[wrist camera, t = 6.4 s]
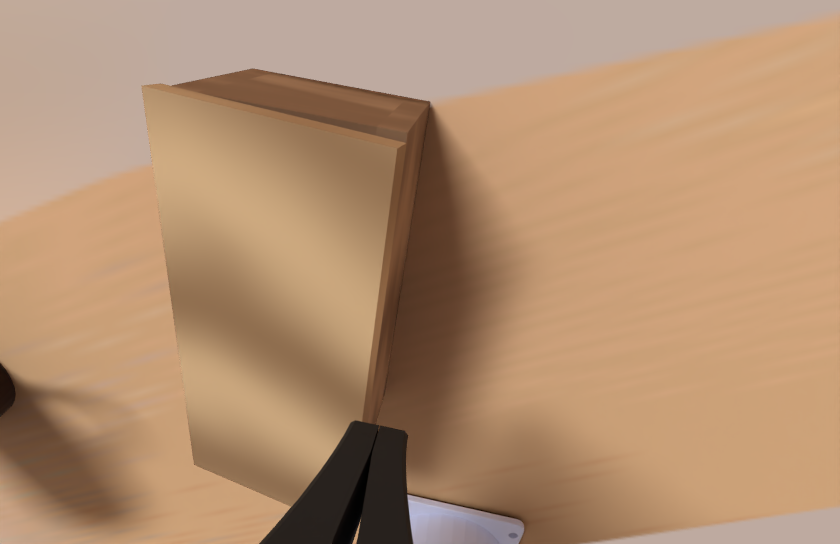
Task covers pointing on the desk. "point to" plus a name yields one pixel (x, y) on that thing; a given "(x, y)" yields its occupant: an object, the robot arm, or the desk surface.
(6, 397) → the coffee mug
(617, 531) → the desk surface
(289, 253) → the lid
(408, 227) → the walnut box
